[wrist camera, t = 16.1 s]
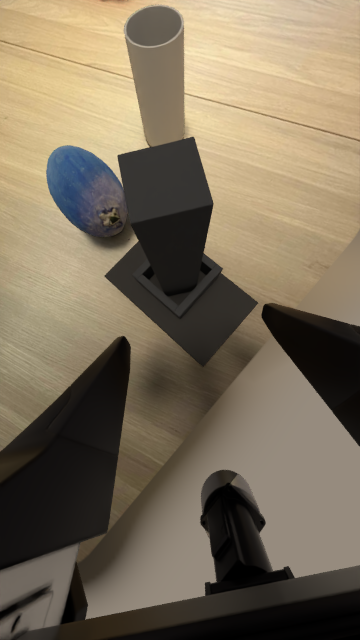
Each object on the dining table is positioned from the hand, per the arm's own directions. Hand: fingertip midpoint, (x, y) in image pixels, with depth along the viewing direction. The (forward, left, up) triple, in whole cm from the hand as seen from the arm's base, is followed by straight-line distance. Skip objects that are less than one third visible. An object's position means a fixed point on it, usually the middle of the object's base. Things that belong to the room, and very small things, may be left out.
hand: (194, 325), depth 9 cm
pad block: (+7, -5, -11) cm, 13 cm away
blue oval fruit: (+21, -5, -12) cm, 25 cm away
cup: (+28, -25, -12) cm, 39 cm away
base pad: (+5, -4, -12) cm, 13 cm away
